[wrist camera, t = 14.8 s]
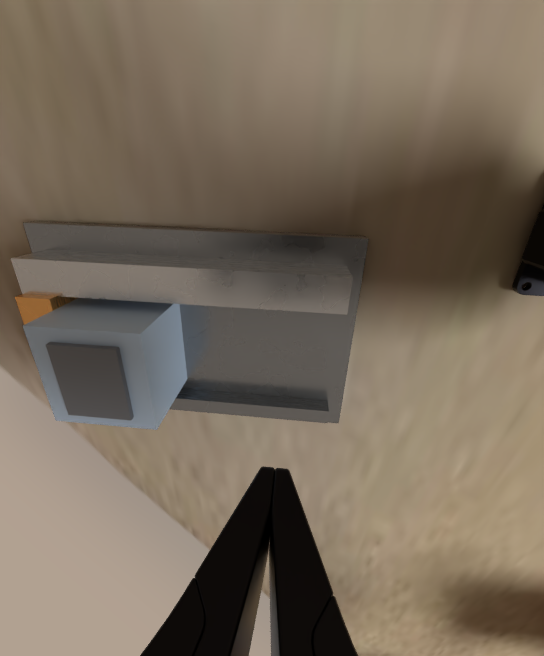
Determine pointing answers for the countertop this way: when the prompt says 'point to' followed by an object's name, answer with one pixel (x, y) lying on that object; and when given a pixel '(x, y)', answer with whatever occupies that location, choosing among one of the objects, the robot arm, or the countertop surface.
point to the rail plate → (244, 335)
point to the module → (110, 360)
